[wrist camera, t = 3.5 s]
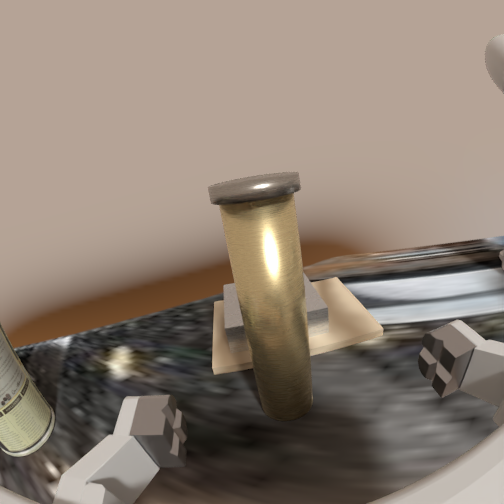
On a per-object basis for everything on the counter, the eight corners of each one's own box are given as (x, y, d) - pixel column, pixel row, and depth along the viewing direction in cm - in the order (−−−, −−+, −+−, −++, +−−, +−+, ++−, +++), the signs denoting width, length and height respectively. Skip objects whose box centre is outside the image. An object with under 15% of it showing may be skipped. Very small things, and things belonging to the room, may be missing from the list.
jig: (303, 291, 43) (301, 270, 42) (328, 332, 32) (327, 307, 31) (228, 306, 42) (223, 285, 41) (231, 353, 31) (224, 328, 30)
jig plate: (336, 282, 46) (336, 277, 45) (382, 335, 30) (383, 328, 30) (215, 307, 45) (214, 301, 44) (214, 374, 30) (212, 368, 29)
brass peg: (309, 375, 27) (287, 170, 21) (325, 416, 22) (310, 174, 15) (253, 387, 27) (210, 184, 20) (260, 430, 21) (205, 191, 15)
